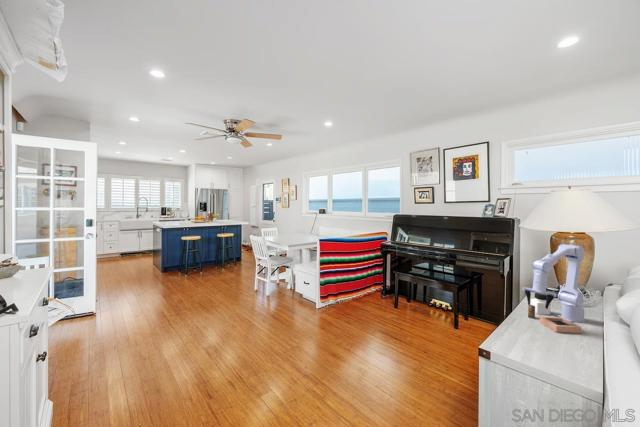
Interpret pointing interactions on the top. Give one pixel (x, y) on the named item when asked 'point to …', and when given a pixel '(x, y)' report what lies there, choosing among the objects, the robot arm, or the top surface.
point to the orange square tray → (560, 325)
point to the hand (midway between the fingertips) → (537, 306)
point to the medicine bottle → (540, 304)
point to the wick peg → (531, 311)
